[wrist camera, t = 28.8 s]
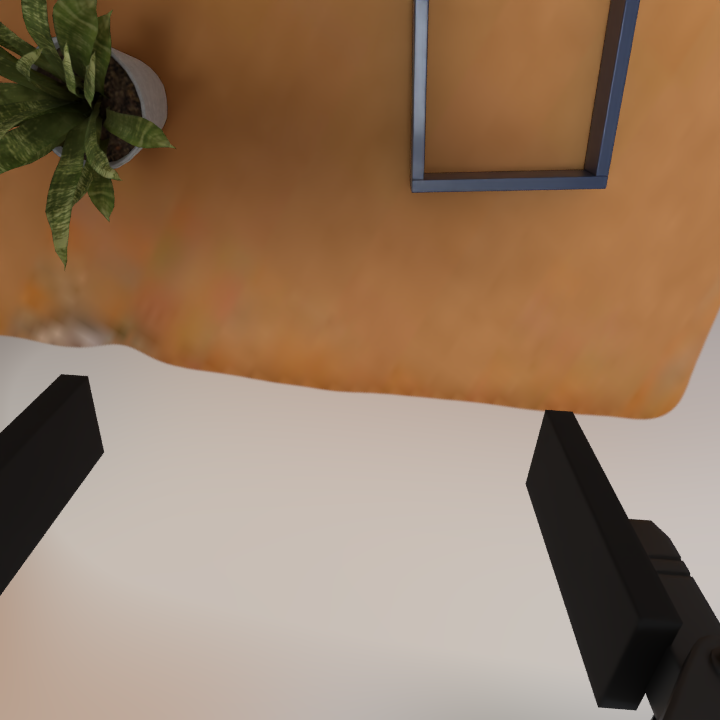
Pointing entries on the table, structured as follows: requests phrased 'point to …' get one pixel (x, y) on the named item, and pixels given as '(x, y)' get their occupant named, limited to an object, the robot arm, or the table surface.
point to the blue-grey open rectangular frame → (589, 178)
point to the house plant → (75, 106)
